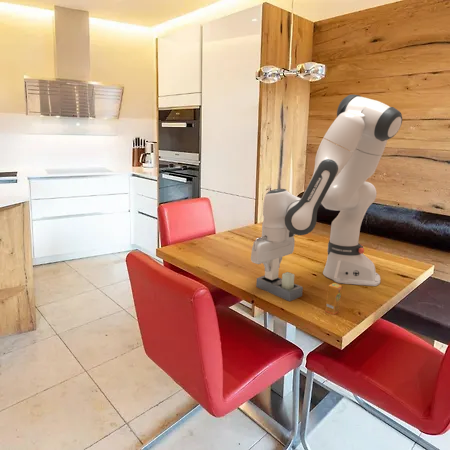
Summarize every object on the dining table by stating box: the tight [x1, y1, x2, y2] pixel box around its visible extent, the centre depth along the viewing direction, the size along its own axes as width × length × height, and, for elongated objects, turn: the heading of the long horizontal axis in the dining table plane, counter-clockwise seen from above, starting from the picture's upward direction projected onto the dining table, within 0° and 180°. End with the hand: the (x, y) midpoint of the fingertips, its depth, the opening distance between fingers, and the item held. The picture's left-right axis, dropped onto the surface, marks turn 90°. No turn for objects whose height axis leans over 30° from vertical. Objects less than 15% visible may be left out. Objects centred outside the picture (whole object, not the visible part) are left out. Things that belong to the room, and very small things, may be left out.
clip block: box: [264, 258, 280, 280], centre depth 140 cm, size 4×4×8 cm
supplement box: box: [324, 282, 343, 316], centre depth 123 cm, size 3×3×10 cm
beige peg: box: [281, 271, 295, 290], centre depth 135 cm, size 3×3×8 cm
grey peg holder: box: [255, 274, 304, 302], centre depth 139 cm, size 16×7×4 cm, turn 41°
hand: (272, 269), depth 140 cm, fingers closed on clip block, 3 cm apart
